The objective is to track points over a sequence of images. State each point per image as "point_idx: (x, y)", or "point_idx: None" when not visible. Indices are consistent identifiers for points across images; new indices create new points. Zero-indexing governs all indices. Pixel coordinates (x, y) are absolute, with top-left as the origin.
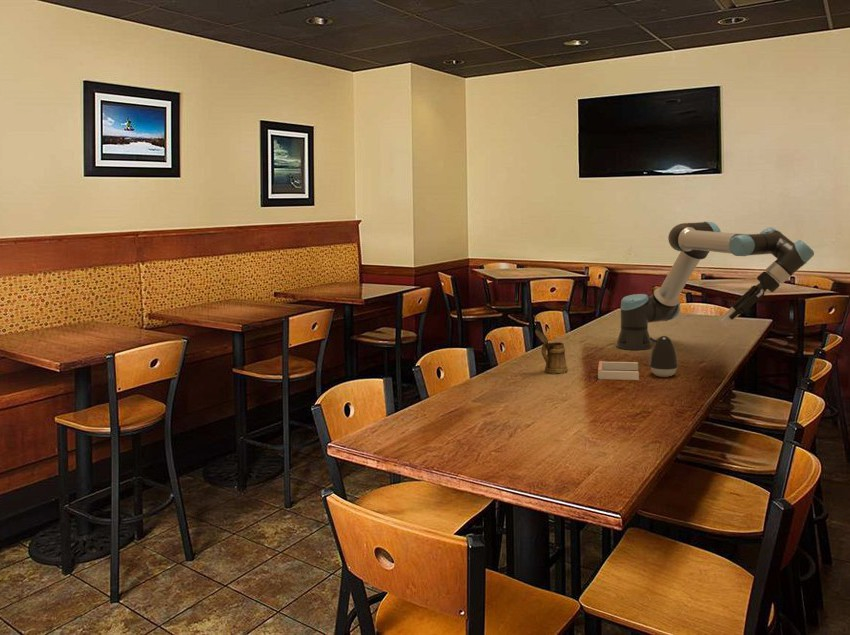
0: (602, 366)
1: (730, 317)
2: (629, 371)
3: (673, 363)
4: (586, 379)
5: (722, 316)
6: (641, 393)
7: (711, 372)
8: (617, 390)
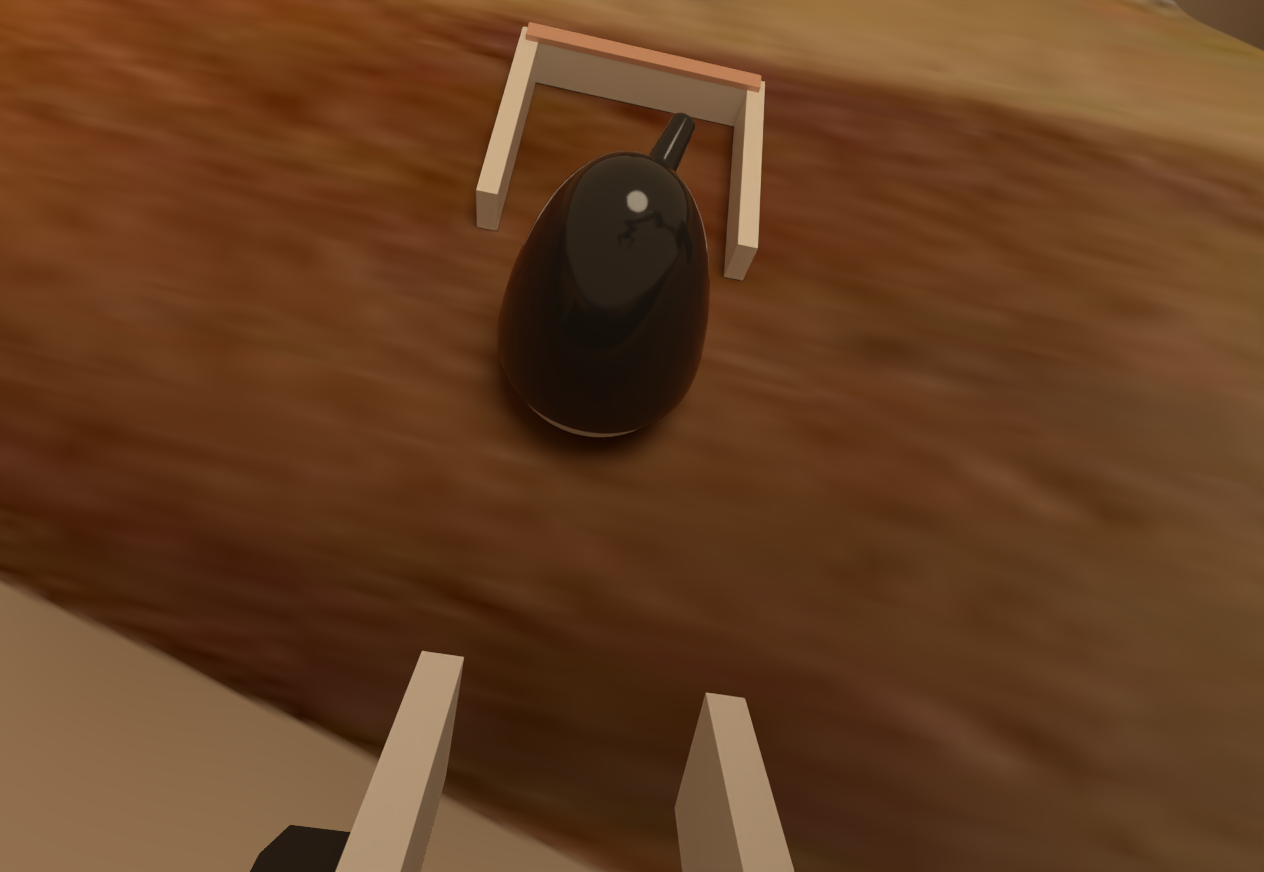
0: (730, 106)
1: (274, 857)
2: (500, 151)
3: (514, 364)
4: (517, 26)
5: (717, 769)
6: (144, 168)
7: (685, 740)
8: (249, 86)
